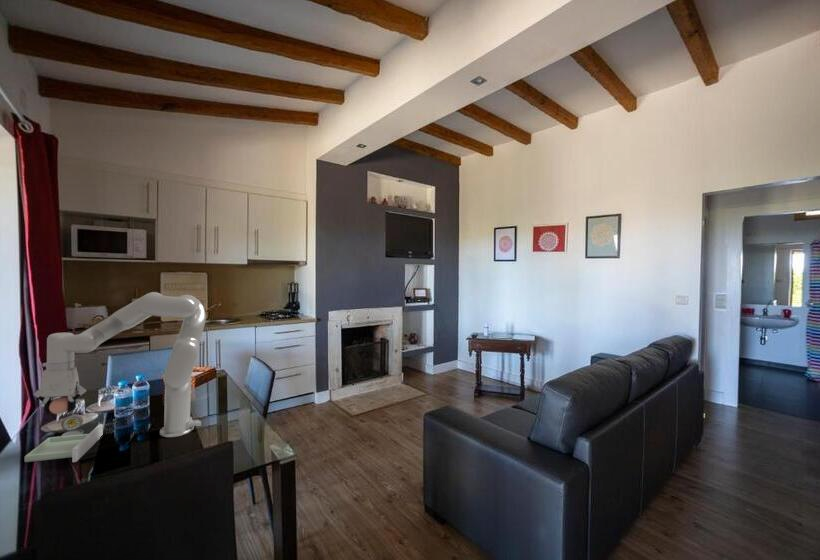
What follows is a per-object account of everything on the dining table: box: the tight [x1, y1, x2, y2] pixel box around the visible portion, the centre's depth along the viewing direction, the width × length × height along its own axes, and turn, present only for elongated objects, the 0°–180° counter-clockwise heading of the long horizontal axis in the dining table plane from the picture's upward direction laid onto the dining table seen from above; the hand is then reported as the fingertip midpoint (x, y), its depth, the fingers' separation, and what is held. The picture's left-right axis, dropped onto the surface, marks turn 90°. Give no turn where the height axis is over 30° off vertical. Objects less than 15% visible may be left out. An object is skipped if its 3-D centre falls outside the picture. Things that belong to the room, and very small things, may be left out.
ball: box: [49, 396, 69, 415], centre depth 136 cm, size 6×6×6 cm
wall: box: [71, 423, 104, 463], centre depth 139 cm, size 1×20×5 cm, turn 20°
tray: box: [24, 433, 89, 463], centre depth 137 cm, size 14×14×2 cm
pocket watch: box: [61, 408, 84, 436], centre depth 148 cm, size 8×8×10 cm
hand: (60, 411), depth 136 cm, fingers closed on ball, 5 cm apart
